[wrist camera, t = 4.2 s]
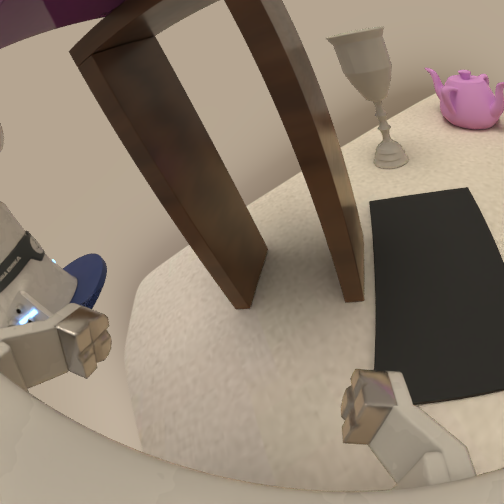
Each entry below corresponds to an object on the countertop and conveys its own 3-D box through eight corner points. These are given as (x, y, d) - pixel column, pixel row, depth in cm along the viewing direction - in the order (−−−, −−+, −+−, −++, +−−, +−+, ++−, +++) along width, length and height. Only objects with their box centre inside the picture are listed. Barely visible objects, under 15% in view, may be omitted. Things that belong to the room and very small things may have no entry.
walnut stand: (364, 300, 23) (225, -60, 7) (235, 309, 28) (68, 51, 13) (363, 235, 28) (262, -36, 13) (255, 250, 33) (134, 32, 18)
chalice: (410, 145, 37) (378, 26, 26) (421, 167, 32) (389, 27, 21) (363, 153, 40) (325, 37, 29) (368, 176, 35) (325, 39, 25)
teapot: (512, 134, 28) (508, 80, 23) (435, 132, 37) (425, 79, 32) (497, 109, 35) (491, 65, 29) (433, 108, 43) (423, 65, 38)
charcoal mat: (532, 382, 11) (534, 379, 11) (371, 407, 16) (371, 405, 16) (467, 190, 26) (467, 187, 25) (370, 204, 31) (369, 201, 31)
